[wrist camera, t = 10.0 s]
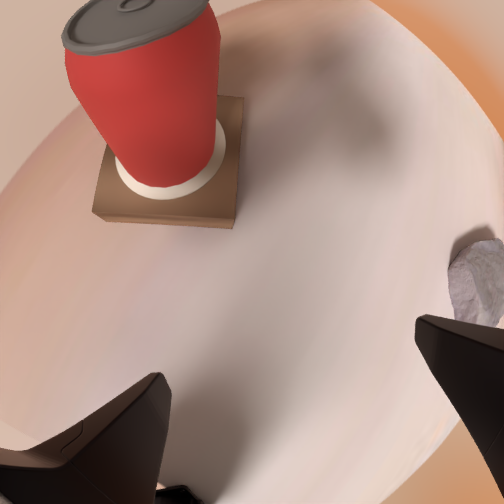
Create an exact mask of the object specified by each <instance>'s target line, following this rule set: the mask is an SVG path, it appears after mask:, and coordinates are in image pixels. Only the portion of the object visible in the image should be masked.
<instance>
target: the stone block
mask: <svg viewBox="0 0 504 504" xmlns="http://www.w3.org/2000/svg"><path fill="white" fill-rule="evenodd" d="M448 282H449V294H450V298H451V301H452V306H453V308H454V317H455V320H458V321H463V322H468V323H473V324H479V325H484V326H489V327H496V326H497V324H498V323H499V320H500V318H501V317H502V316H503V315H504V245H503V242H502V241H501V240H500V239H499V238H497V239H492V240H482V241H478V242H474V243H472V244H471V245H470V246H469V247H466V248H465V249H463V250H461V251H460V252H459V254H458V256H457V257H456V258H455V259H454V261H453V262H452V263H451V265H450V267H449V269H448Z"/></svg>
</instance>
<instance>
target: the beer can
mask: <svg viewBox="0 0 504 504" xmlns="http://www.w3.org/2000/svg"><path fill="white" fill-rule="evenodd" d="M208 2H209V0H90V1H89V2H88V3H86V4H85V5H84V6H82V7H81V8H80V9H79V10H78V11H77V12H76V13H75V14H74V15H73V16H72V17H71V18H70V20H69V21H68V22H67V24H66V26H65V28H64V30H63V33H62V35H61V38H62V42H63V46H64V47H65V66H66V70H67V74H68V79H69V82H70V86H71V88H72V90H73V92H74V93H75V95H76V97H77V98H78V100H79V101H80V103H81V105H82V106H83V108H84V109H85V111H86V112H87V114H88V115H89V117H90V119H91V120H92V122H93V123H94V125H95V126H96V128H97V129H98V131H99V132H100V134H101V135H102V137H103V138H104V140H105V141H106V143H107V144H108V145H109V147H110V148H111V150H112V151H113V153H114V154H115V156H116V157H117V159H118V160H119V161H120V163H121V164H122V166H123V167H124V168H125V170H126V171H127V173H128V174H129V175H131V176H132V177H133V178H134V179H135V180H136V181H137V182H139V183H142V184H144V185H147V186H149V187H161V188H167V187H171V186H175V185H180V184H183V183H184V182H186V181H188V180H190V179H192V178H193V177H195V176H196V175H197V174H198V173H199V172H200V171H201V170H203V169H204V168H205V167H206V166H207V164H208V162H209V160H210V158H211V156H212V154H213V152H214V146H215V136H216V109H217V87H218V70H219V54H220V40H221V35H220V31H219V27H218V23H217V20H216V18H215V15H214V12H213V10H212V8H211V6H210V4H209V3H208Z"/></svg>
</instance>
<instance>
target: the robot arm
mask: <svg viewBox="0 0 504 504" xmlns="http://www.w3.org/2000/svg"><path fill="white" fill-rule="evenodd" d="M415 342H416V345H417V346H418V348H419V350H420V352H421V354H422V356H423V357H424V359H425V361H426V363H427V365H428V367H429V369H430V371H431V372H432V374H433V376H434V377H435V379H436V380H437V382H438V383H439V385H440V386H441V388H442V389H443V391H444V392H445V394H446V395H447V397H448V398H449V400H450V401H451V403H452V405H453V406H454V408H455V409H456V411H457V413H458V414H459V416H460V417H461V419H462V421H463V422H464V424H465V426H466V427H467V429H468V431H469V432H470V434H471V436H472V438H473V439H474V441H475V443H476V445H477V446H478V448H479V450H480V452H481V454H482V456H484V459H485V461H486V463H487V465H488V467H489V469H490V471H491V473H492V475H493V477H494V479H495V481H496V483H497V485H498V488H499V490H500V492H501V494H502V496H503V498H504V329H500V328H495V327H489V326H484V325H479V324H473V323H468V322H463V321H458V320H453V319H448V318H443V317H438V316H433V315H428V314H425V315H423V316H420V317H418V318H417V319H416V323H415ZM171 397H172V393H171V389H170V387H169V385H168V383H167V381H166V379H165V377H164V375H163V374H162V373H161V372H156V373H150V374H148V375H147V376H146V377H144V378H143V379H141V380H140V381H139V382H137V383H136V384H134V385H133V386H131V387H130V388H129V389H127V390H126V391H124V392H123V393H121V394H120V395H118V396H117V397H116V398H114V399H113V400H111V401H110V402H108V403H107V404H105V405H104V406H102V407H101V408H99V409H98V410H96V411H95V412H93V413H92V414H90V415H89V416H87V417H86V418H84V420H81V421H80V422H78V423H77V424H75V425H73V426H72V427H70V428H69V429H67V430H65V431H64V432H62V433H60V434H58V435H56V436H54V437H52V438H51V439H49V440H47V441H45V442H43V443H41V444H39V445H37V446H35V447H33V448H30V449H28V450H23V451H14V450H8V449H3V448H0V504H204V503H203V502H202V501H201V500H199V499H197V497H196V496H195V495H194V494H193V493H192V492H191V491H190V489H189V488H188V487H187V486H184V485H180V486H175V487H170V488H165V489H159V490H156V487H157V482H158V476H159V471H160V466H161V461H162V457H163V452H164V447H165V442H166V438H167V433H168V427H169V417H170V407H171Z"/></svg>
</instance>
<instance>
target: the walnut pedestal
mask: <svg viewBox="0 0 504 504" xmlns="http://www.w3.org/2000/svg"><path fill="white" fill-rule="evenodd" d="M243 104H244V98H242V97H232V96H218V95H217V109H216V136H215V146H214V152H213V154H212V156H211V158H210V160H209V162H208V164H207V166H206V167H205V168H204V169H203V170H201V171H200V172H199V173H198V174H197V175H196V176H195V177H193V178H192V179H190V180H188V181H186V182H184V183H183V184H180V185H175V186H171V187H167V188H161V187H149V186H147V185H144V184H142V183H139V182H137V181H136V180H135V179H134V178H133V177H132V176H131V175H129V174H128V173H127V171H126V170H125V168H124V167H123V166H122V164H121V163H120V161H119V160H118V159H117V157H116V156H115V154H114V153H113V151H112V150H111V148H110V147H109V145H108V144H107V145H106V149H105V153H104V156H103V160H102V164H101V169H100V173H99V177H98V182H97V186H96V191H95V196H94V202H93V207H92V212H93V213H94V214H96V215H97V216H99V217H100V218H102V219H103V220H105V221H106V222H124V223H144V224H163V225H180V226H196V227H212V228H226V229H232V227H233V224H234V220H235V209H236V194H237V180H238V166H239V153H240V140H241V128H242V116H243Z"/></svg>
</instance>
